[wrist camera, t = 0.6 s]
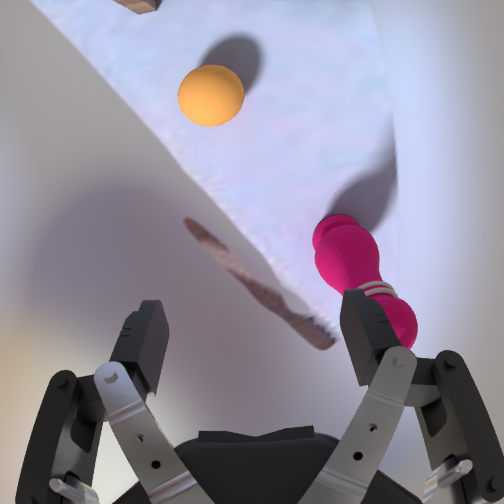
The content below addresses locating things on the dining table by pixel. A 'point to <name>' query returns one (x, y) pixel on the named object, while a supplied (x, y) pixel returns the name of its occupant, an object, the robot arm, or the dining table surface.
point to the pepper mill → (359, 270)
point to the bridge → (139, 5)
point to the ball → (211, 95)
